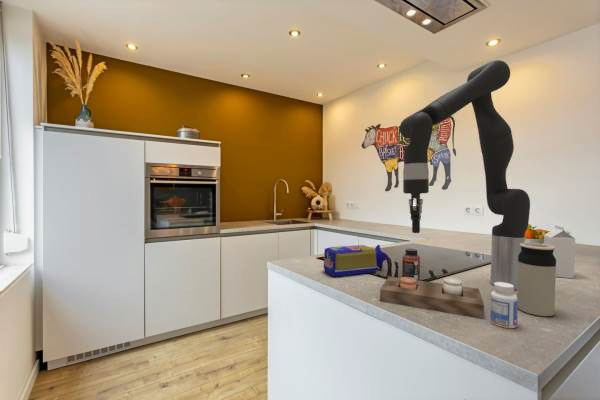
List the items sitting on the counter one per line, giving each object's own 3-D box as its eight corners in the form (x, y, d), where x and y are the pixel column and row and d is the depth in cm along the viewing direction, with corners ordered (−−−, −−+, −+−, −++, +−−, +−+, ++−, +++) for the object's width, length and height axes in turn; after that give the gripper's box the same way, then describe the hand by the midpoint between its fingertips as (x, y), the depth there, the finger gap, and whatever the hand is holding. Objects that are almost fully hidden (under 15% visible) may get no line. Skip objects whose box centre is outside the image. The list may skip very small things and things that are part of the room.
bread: (320, 271, 117) (321, 246, 116) (373, 266, 126) (373, 242, 125) (332, 279, 107) (332, 251, 107) (388, 272, 116) (388, 246, 116)
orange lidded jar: (416, 293, 90) (417, 278, 90) (415, 298, 86) (415, 282, 86) (401, 291, 92) (401, 276, 92) (399, 296, 88) (399, 280, 88)
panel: (478, 300, 87) (478, 288, 87) (483, 318, 74) (484, 305, 74) (388, 286, 98) (388, 276, 98) (380, 300, 86) (380, 289, 86)
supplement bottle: (421, 283, 102) (421, 251, 102) (403, 282, 103) (403, 250, 103) (417, 278, 108) (418, 248, 108) (401, 277, 109) (401, 247, 109)
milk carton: (550, 276, 111) (551, 227, 110) (542, 271, 117) (544, 224, 117) (574, 279, 108) (575, 228, 107) (565, 273, 115) (566, 225, 114)
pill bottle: (506, 318, 74) (507, 280, 74) (522, 328, 69) (524, 288, 69) (485, 318, 74) (486, 280, 74) (500, 328, 69) (501, 288, 69)
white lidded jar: (461, 295, 85) (461, 278, 84) (461, 300, 81) (462, 283, 80) (443, 292, 87) (443, 276, 87) (443, 297, 83) (443, 280, 82)
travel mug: (543, 319, 74) (545, 249, 73) (510, 307, 81) (512, 243, 81) (560, 314, 77) (563, 246, 77) (527, 303, 84) (529, 241, 84)
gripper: (427, 177, 85) (428, 236, 86) (429, 178, 97) (429, 230, 97) (400, 178, 88) (401, 235, 89) (405, 179, 100) (405, 229, 101)
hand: (416, 232), depth 93 cm, fingers closed
